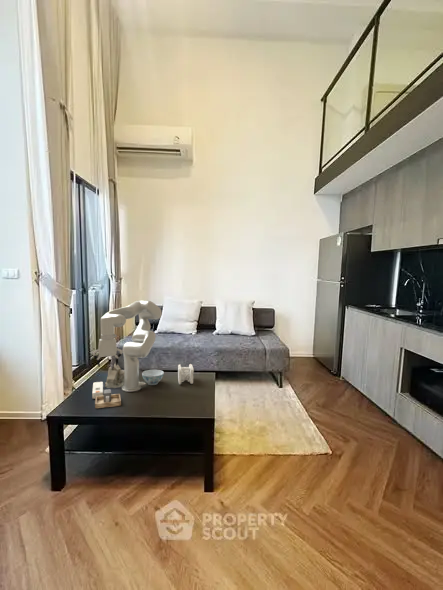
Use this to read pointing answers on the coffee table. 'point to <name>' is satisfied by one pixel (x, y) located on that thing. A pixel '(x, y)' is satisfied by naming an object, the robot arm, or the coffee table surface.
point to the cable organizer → (185, 373)
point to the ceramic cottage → (115, 377)
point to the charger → (107, 395)
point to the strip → (97, 389)
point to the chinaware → (152, 376)
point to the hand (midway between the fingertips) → (107, 365)
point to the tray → (114, 402)
